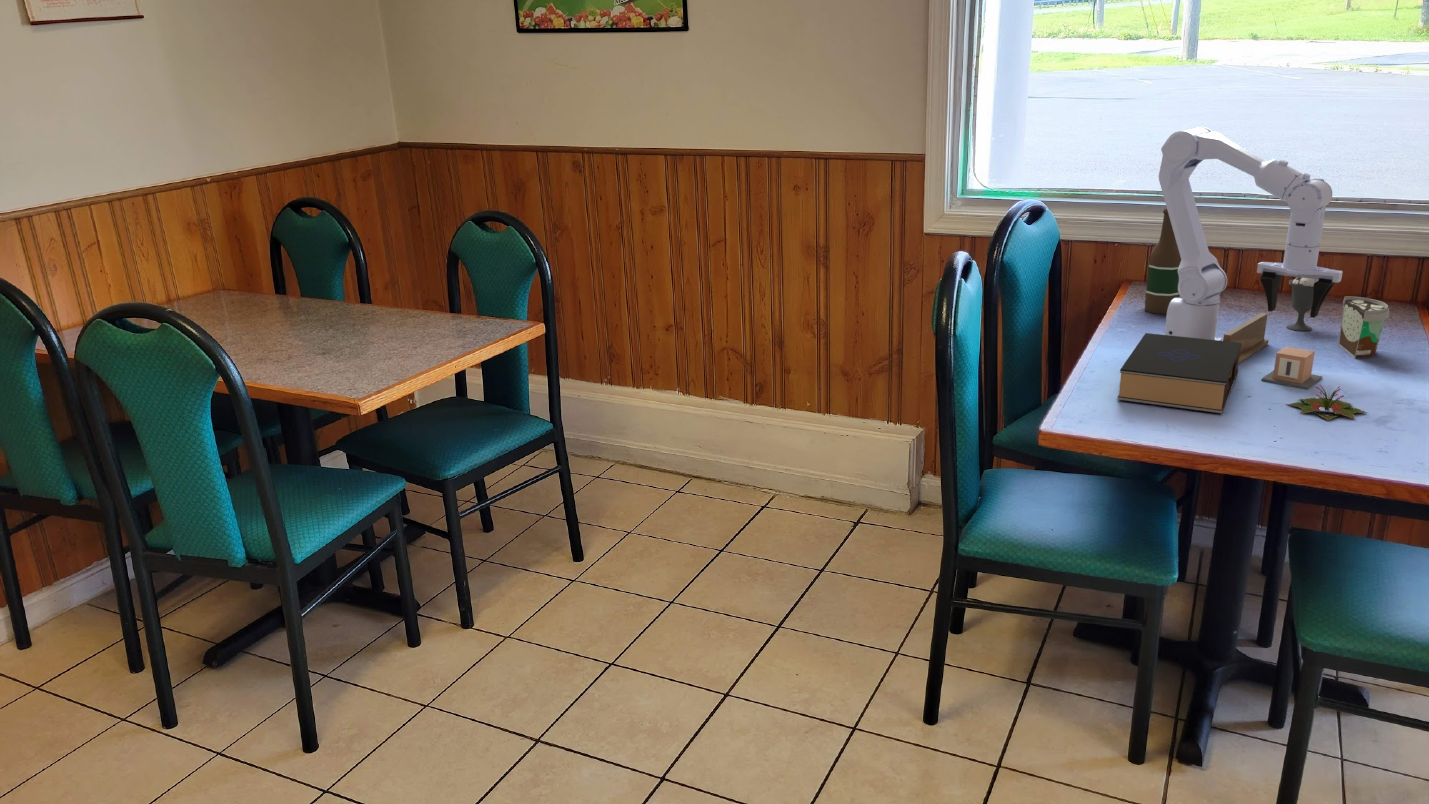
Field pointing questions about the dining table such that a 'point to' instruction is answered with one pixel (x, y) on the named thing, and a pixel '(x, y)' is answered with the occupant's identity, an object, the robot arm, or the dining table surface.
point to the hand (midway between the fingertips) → (1292, 313)
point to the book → (1180, 372)
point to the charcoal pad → (1304, 385)
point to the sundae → (1302, 301)
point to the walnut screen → (1249, 335)
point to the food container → (1362, 325)
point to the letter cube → (1293, 364)
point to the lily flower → (1327, 406)
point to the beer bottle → (1163, 271)
